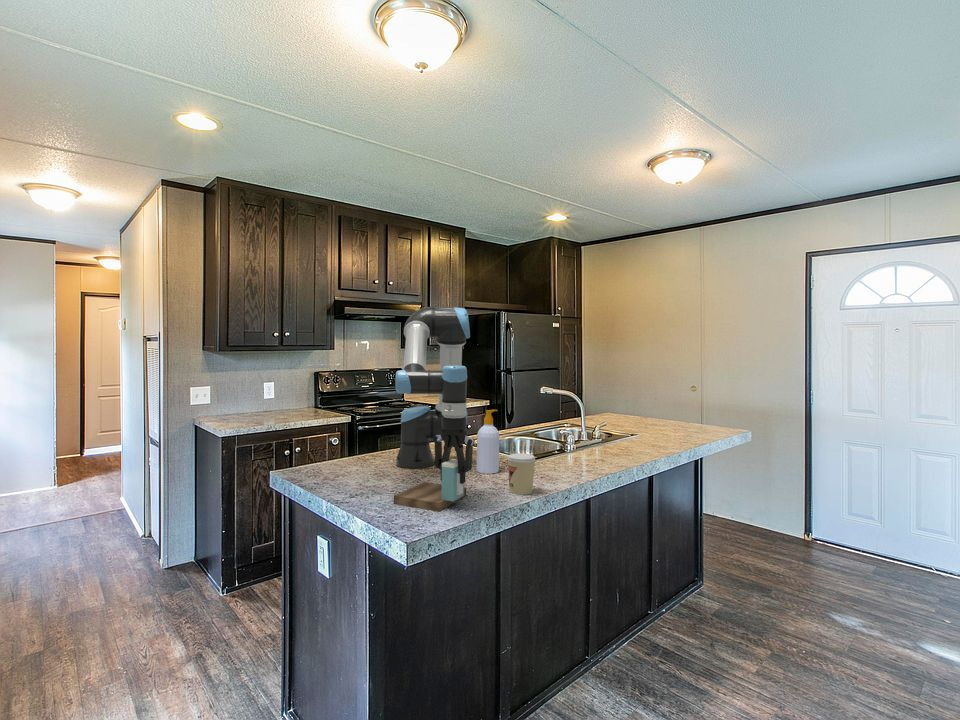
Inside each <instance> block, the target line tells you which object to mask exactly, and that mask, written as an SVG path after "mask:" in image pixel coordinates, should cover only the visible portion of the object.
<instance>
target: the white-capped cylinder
mask: <svg viewBox="0 0 960 720" xmlns="http://www.w3.org/2000/svg"><path fill="white" fill-rule="evenodd" d="M535 461H536V457H535V456H534V454H531V453H530V454H529V453H523V452H522V453H518V452H517V453H510V454H509V455H508V456H507V468H508V469H507V470H508V488H509V492H510V493H511V494H514V495H517V496H518V495H519V496H523V495H530V494H532V493H533V487H534V477H535V475H534V474H535V466H536V465H535Z"/></svg>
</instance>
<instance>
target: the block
mask: <svg viewBox="0 0 960 720" xmlns="http://www.w3.org/2000/svg"><path fill="white" fill-rule="evenodd" d="M458 472H459V467H458V461H457V458H451V459H449V461H446V462H444V463H442V481H441V484H442V493H441V500H446V501H455V500H457V499H459V498H460V497H462V496H464V488H465V483H463V493H462V494H460V495H457V473H458Z"/></svg>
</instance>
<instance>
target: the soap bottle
mask: <svg viewBox="0 0 960 720" xmlns="http://www.w3.org/2000/svg"><path fill="white" fill-rule="evenodd" d="M494 412H498V409H489V410H488V409H486V410H485V416H484V417H483V426H481V427H480V428H479V430H478V431H477V435H476V436H477V437H476V472H477V473H480V474H483V475H484V474H485V475H491V474H493V473H494V474H497V473H498V472H499V471H500V467H499V466H500V433H499V431H498V429H497V427H495V426H494V418H493V415H492V413H494ZM494 474H493V475H494Z"/></svg>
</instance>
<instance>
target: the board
mask: <svg viewBox="0 0 960 720" xmlns="http://www.w3.org/2000/svg"><path fill="white" fill-rule="evenodd" d="M441 493H442V483H435V482H430V481H429V482H427V481H423V482H421V483H419V484H416V485H414V486H412V487H409V488H407V489H405V490H403V491H401V492H398V493H397V494H394V495H393V505H399V506H405V507H410V508H411V507H412V508H416V509H417V508H418V509H423V510H428V511H434V512H441V511H442V510H444V509H446V508H448V507H450V506H451V505H453V504H454V503H457V502H458V501H460V500H462V499H463V498H465V497H466V496H467V487H464V496H462V497H460V498H459V499H457V500H455V501H446V500H441Z"/></svg>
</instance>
